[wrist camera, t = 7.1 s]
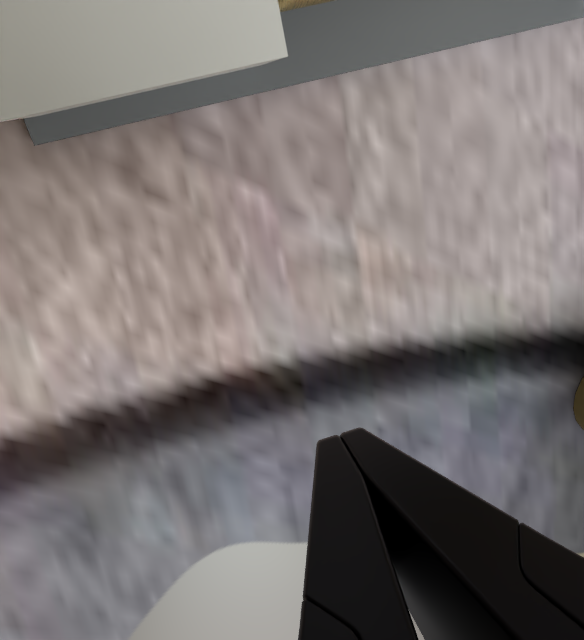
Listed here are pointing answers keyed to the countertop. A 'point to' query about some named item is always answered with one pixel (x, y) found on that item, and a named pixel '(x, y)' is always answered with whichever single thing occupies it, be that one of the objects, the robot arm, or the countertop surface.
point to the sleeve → (125, 48)
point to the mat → (323, 53)
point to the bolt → (298, 4)
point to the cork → (579, 404)
